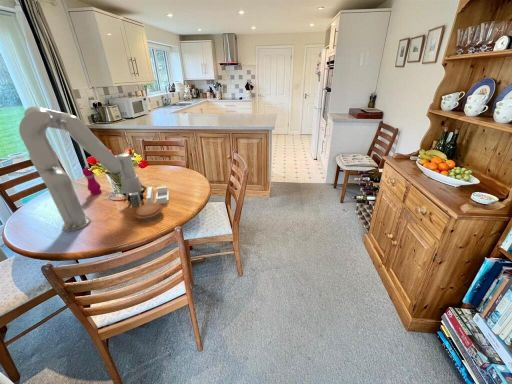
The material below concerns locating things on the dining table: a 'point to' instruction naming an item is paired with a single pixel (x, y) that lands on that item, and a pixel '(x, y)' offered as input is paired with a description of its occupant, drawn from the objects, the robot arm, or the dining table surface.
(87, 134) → the robot arm
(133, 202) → the stop bar
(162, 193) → the jamb
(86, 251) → the dining table surface
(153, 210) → the pie
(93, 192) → the pepper mill
